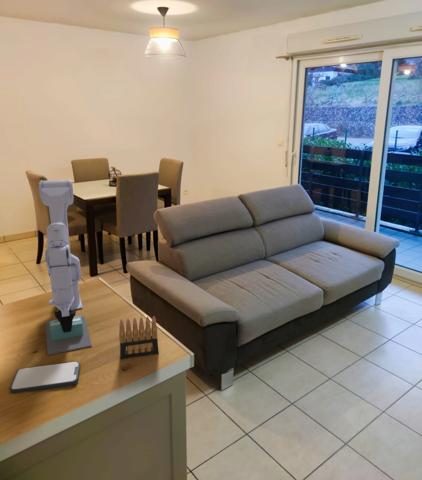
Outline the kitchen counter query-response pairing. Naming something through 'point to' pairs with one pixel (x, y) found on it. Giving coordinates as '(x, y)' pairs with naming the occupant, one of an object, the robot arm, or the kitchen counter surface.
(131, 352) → the ammunition clip
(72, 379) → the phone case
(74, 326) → the card box
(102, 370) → the kitchen counter surface
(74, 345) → the mat
